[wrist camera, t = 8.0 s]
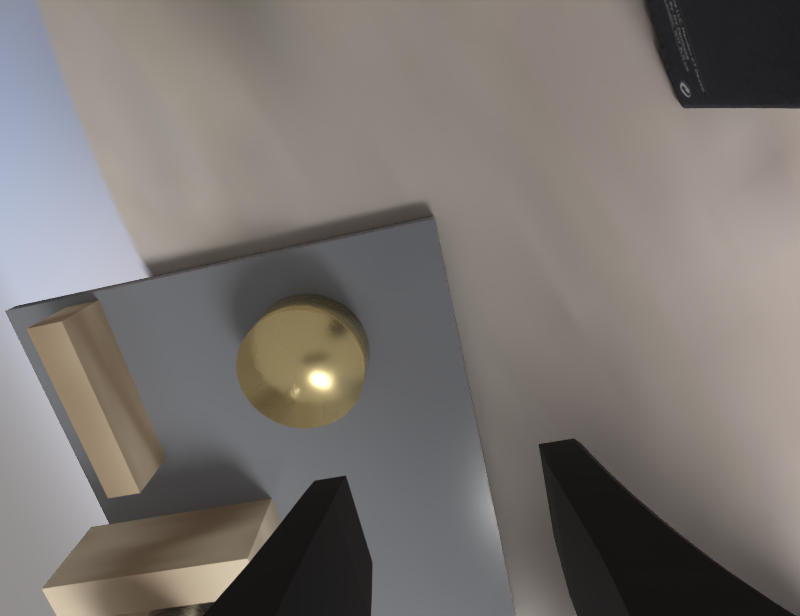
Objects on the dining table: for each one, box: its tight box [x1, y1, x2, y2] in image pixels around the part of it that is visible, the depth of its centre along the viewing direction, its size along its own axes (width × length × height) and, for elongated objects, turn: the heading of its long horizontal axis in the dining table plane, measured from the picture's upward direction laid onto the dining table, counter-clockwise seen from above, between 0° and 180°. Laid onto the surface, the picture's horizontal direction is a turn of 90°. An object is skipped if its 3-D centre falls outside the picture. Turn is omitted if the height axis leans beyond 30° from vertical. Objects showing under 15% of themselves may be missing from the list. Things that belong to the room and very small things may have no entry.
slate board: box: [5, 216, 516, 616], centre depth 21 cm, size 15×17×1 cm
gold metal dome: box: [236, 294, 369, 428], centre depth 18 cm, size 4×4×2 cm
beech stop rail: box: [27, 300, 166, 498], centre depth 19 cm, size 1×6×2 cm, turn 12°
